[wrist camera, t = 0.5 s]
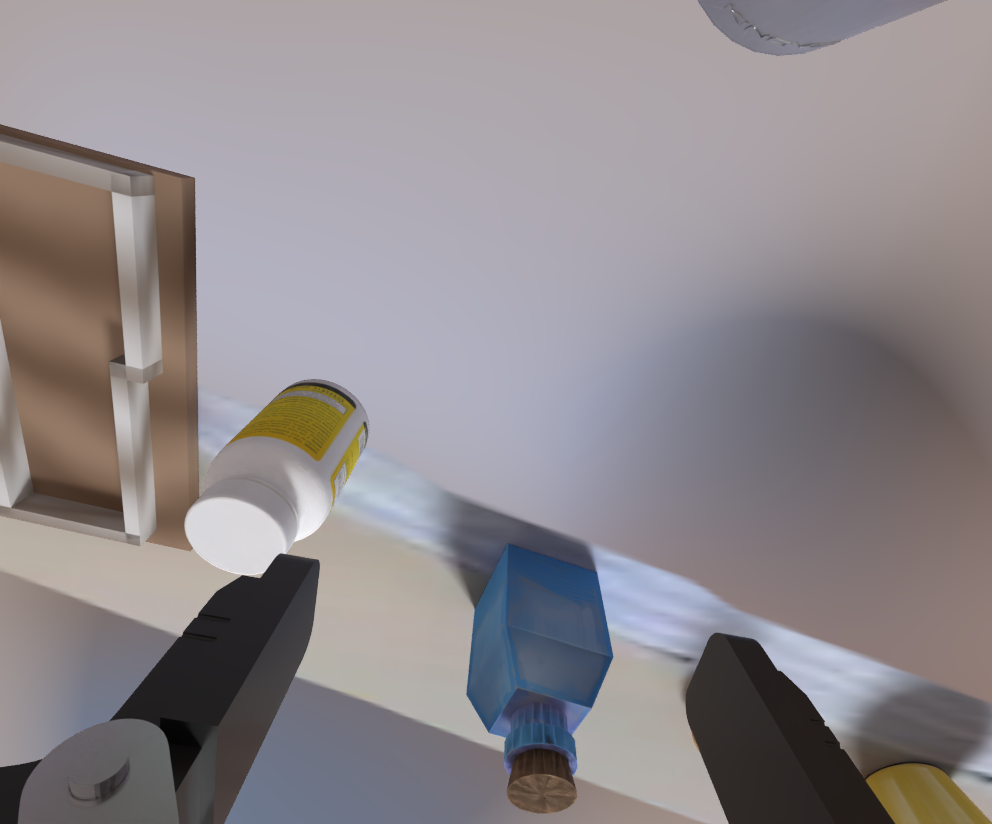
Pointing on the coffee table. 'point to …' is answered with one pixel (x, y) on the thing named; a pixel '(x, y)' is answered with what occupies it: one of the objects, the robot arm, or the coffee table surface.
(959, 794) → the plant pot
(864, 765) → the coffee table surface
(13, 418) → the brown rectangular tray
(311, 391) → the supplement bottle
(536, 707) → the perfume bottle
